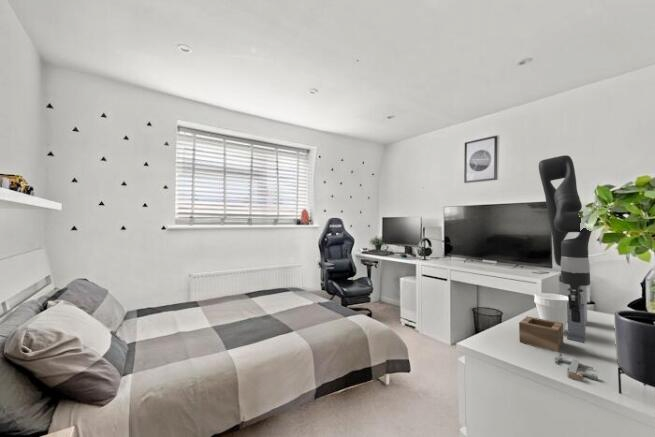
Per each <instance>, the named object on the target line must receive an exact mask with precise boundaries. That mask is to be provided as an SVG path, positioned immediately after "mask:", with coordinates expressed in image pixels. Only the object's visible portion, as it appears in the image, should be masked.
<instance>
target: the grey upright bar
mask: <svg viewBox="0 0 655 437" xmlns="http://www.w3.org/2000/svg"><path fill="white" fill-rule="evenodd" d="M573 306H574V307H577V306H576V305H573ZM580 309H581V311H580V323H577V322H573V321H572V320H571V310H570V308H569V302H567V318H568V322H567V336H566V339H567V340H568V341H572V342H577V343H581V344H586V340H587V330H586V329H587V328H586V326H587V324H586V321H585V304H581V305H580Z"/></svg>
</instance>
